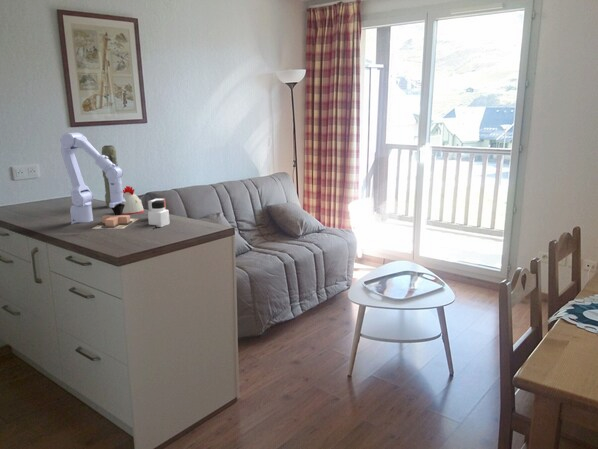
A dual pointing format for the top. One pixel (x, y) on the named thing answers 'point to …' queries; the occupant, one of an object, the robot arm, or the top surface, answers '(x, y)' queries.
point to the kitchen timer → (131, 202)
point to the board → (117, 226)
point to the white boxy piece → (154, 200)
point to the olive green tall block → (111, 155)
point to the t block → (115, 219)
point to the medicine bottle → (158, 214)
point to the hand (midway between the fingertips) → (119, 219)
